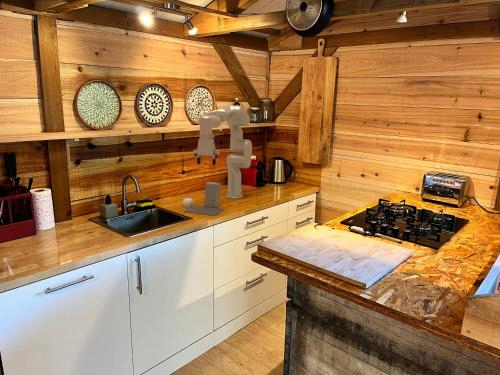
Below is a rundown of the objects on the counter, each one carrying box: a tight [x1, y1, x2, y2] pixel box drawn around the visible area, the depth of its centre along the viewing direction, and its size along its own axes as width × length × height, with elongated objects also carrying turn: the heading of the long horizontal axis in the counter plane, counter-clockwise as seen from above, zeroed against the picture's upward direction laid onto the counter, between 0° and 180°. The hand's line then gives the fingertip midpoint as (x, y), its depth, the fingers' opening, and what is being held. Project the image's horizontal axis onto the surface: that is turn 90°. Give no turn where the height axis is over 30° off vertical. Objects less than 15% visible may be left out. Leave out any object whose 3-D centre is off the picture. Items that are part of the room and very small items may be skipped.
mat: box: [183, 205, 226, 217], centre depth 245 cm, size 15×22×1 cm
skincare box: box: [203, 181, 222, 208], centre depth 254 cm, size 8×7×16 cm
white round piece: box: [182, 197, 194, 208], centre depth 255 cm, size 6×6×5 cm
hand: (206, 164), depth 236 cm, fingers open, 9 cm apart
